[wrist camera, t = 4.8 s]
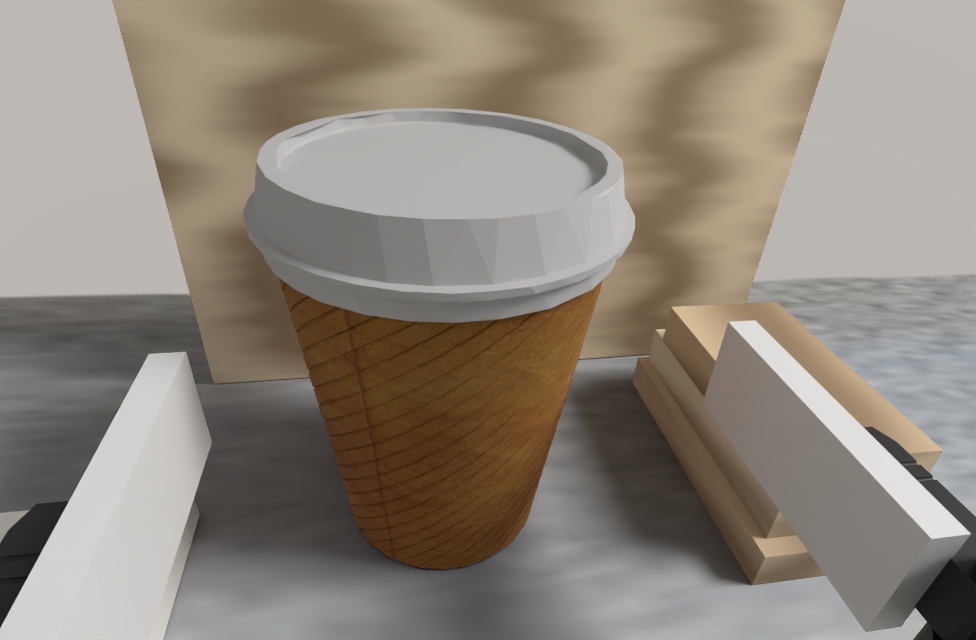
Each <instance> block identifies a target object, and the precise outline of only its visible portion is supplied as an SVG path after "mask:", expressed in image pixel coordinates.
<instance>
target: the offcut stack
mask: <svg viewBox="0 0 976 640" xmlns="http://www.w3.org/2000/svg"><path fill="white" fill-rule="evenodd" d="M752 320H756V321H757V322H758V323H759V324H760V325H761V326H762V327H763V328H764V329H765V330H766V331H767V332H768V333H769V334H770V335H771V336H772V337H773V338H774V339H775V340H776V341H777V342H778V343H779V344H780V345H781V346H782V347H783V348H784V349H785V350H786V351H787V352H788V353H789V354H790V355H791V356H792V357H793V358H794V359H795V360H796V361H797V362H798V363H799V364H800V365H801V366H802V367H803V368H804V369H805V370H806V371H807V372H808V373H809V374H810V375H811V376H812V377H813V378H814V379H815V380H816V381H817V382H818V383H819V384H820V385H821V386H822V387H823V388H824V389H825V390H826V391H827V392H828V393H829V394H830V395H831V396H832V397H833V398H834V399H835V400H836V401H837V402H838V403H839V404H840V405H841V406H842V407H843V408H844V409H845V410H846V411H847V412H848V413H849V414H850V415H852V416H853V417H854V418H855V419H856V420H857V421H858V422H859V423H860V424H861V425H862V426H863V427H871V426H872V427H874V428H875V429H877V430H878V431H880V432H882V433H883V434H885V435H886V436H888V437H890V438H891V439H893V440H895V441H896V442H898V443H899V444H900V445H901V446H902V447H903V448H904V449H905V450H906V451H907V452H908V453H909V454H910V455H911V456H912V457H913V458H914V459H915V460H916V462H917V464H918V465H920V464H921V465H922V466H923V467H924V468H925V469H926V470H927V471H928V472H930V470H931V469H932V467H933V465H934V464H935V462H936V461H937V459H938V458H939V456H940V455H941V453H942V451H943V450H942V449H941V448H940V447H939V446H938V445H937V444H935V443H934V442H933V441H932V440H931V439H930V438H929V437H928V436H926V435H925V434H924V433H923V432H922V431H921V430H920V429H919V428H917V427H916V426H915V425H914V424H913V423H912V422H911V421H910V420H908V419H907V418H906V417H905V416H904V415H903V414H902V413H901V412H899V411H898V410H897V409H896V408H895V407H894V406H893V405H892V404H890V403H889V402H888V401H887V400H886V399H885V398H884V397H883V396H882V395H880V394H879V393H878V392H877V391H876V390H875V389H874V388H873V387H871V386H870V385H869V384H868V383H867V382H866V381H865V380H864V379H862V378H861V377H860V376H859V375H858V374H857V373H856V372H855V371H853V370H852V369H851V368H850V367H849V366H848V365H847V364H846V363H844V362H843V361H842V360H841V359H840V358H839V357H838V356H837V355H835V354H834V353H833V352H832V351H831V350H830V349H829V348H828V347H826V346H825V345H824V344H823V343H822V342H821V341H820V340H819V339H818V338H816V337H815V336H814V335H813V334H812V333H811V332H810V331H809V330H807V329H806V328H805V327H804V326H803V325H802V324H801V323H800V322H798V321H797V320H796V319H795V318H794V317H793V316H792V315H791V314H789V313H788V312H787V311H786V310H785V309H784V308H783V307H782V306H780V305H779V304H778V303H777V302H765V303H743V304H721V305H699V306H678V307H671V309H670V313H669V317H668V321H667V325H666V329H656V331H655V335H654V339H653V343H652V348H651V352H650V356H649V357H645V358H638V360H637V365H636V369H635V373H634V378H633V382H632V383H633V384H634V386H635V388H636V389H637V391H638V393H639V394H640V396H641V398H642V400H643V401H644V403H645V405H646V406H647V408H648V410H649V411H650V413H651V415H652V417H653V418H654V420H655V422H656V423H657V425H658V427H659V428H660V430H661V432H662V434H663V435H664V437H665V439H666V440H667V442H668V444H669V445H670V447H671V449H672V451H673V452H674V454H675V456H676V457H677V459H678V461H679V462H680V464H681V466H682V468H683V469H684V471H685V473H686V474H687V476H688V478H689V479H690V481H691V483H692V485H693V486H694V488H695V490H696V491H697V493H698V495H699V496H700V498H701V500H702V502H703V503H704V505H705V507H706V508H707V510H708V512H709V513H710V515H711V517H712V519H713V520H714V522H715V524H716V525H717V527H718V529H719V530H720V532H721V534H722V536H723V537H724V539H725V541H726V542H727V544H728V546H729V547H730V549H731V551H732V553H733V554H734V556H735V558H736V559H737V561H738V563H739V564H740V566H741V568H742V570H743V571H744V573H745V575H746V576H747V578H748V580H749V581H750V583H751V585H758V584H766V583H773V582H780V581H788V580H795V579H803V578H810V577H817V576H825V574H824V573H823V571H822V570H821V569H820V567H819V566H818V564H817V563H816V562H815V560H814V559H813V557H812V556H811V555H810V553H809V552H808V550H807V549H806V548H805V546H804V545H803V543H802V542H801V541H800V539H799V538H798V536H797V535H796V534H795V532H794V531H793V529H792V528H791V527H790V525H789V524H788V522H787V521H786V520H785V518H784V517H783V515H782V514H781V513H780V511H779V510H778V508H777V507H776V506H775V504H774V503H773V501H772V500H771V499H770V497H769V496H768V494H767V493H766V492H765V490H764V489H763V487H762V486H761V485H760V483H759V482H758V480H757V479H756V478H755V476H754V475H753V473H752V472H751V471H750V469H749V468H748V466H747V465H746V464H745V462H744V461H743V459H742V458H741V457H740V455H739V454H738V452H737V451H736V450H735V448H734V447H733V445H732V444H731V443H730V441H729V440H728V438H727V437H726V436H725V434H724V433H723V431H722V430H721V429H720V427H719V426H718V424H717V423H716V422H715V420H714V419H713V417H712V416H711V415H710V413H709V412H708V410H707V409H706V408H705V406H704V405H703V400H704V397H705V394H706V391H707V388H708V384H709V381H710V378H711V375H712V372H713V369H714V365H715V362H716V359H717V356H718V353H719V350H720V347H721V343H722V340H723V337H724V334H725V331H726V328H727V325H728V322H734V321H752Z"/></svg>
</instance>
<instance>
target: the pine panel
mask: <svg viewBox="0 0 976 640" xmlns="http://www.w3.org/2000/svg"><path fill="white" fill-rule="evenodd" d="M112 1H113V4H114V8H115V12H116V16H117V19H118V23H119V27H120V31H121V35H122V39H123V42H124V46H125V50H126V54H127V57H128V61H129V65H130V69H131V72H132V76H133V80H134V84H135V88H136V92H137V95H138V99H139V103H140V107H141V110H142V114H143V118H144V122H145V126H146V129H147V133H148V136H149V141H150V144H151V148H152V152H153V156H154V160H155V163H156V167H157V171H158V174H159V179H160V182H161V186H162V190H163V194H164V197H165V201H166V205H167V208H168V212H169V216H170V220H171V224H172V228H173V232H174V235H175V239H176V243H177V247H178V251H179V254H180V258H181V262H182V265H183V269H184V273H185V277H186V281H187V284H188V288H189V292H190V296H191V300H192V304H193V307H194V311H195V315H196V319H197V322H198V326H199V330H200V334H201V338H202V341H203V345H204V349H205V353H206V356H207V360H208V364H209V368H210V372H211V375H212V379H213V383H214V384H219V383H233V382H248V381H263V380H278V379H292V378H307V377H310V376H309V371H310V370H308V369H307V366H306V363H305V360H304V357H303V354H304V352H303V351H302V350H301V347H300V344H299V341H298V338H297V334H298V333H297V332H296V331H295V328H294V325H293V322H292V319H291V317H290V315H291V313H290V312H289V309H288V306H287V303H286V300H285V297H284V295H283V294H284V292H283V291H282V289H281V285H280V282H279V278H278V277H277V276H276V275H275V274H274V272H273V271H272V269H271V268H270V267H269V265H268V264H267V262H266V261H265V259H264V256H263V254H262V253H261V251H260V250H259V249H258V248H257V247H256V246H255V245H254V243H253V242H252V241H251V240H250V239H249V236H248V233H247V230H246V227H245V222H244V216H243V210H244V208H245V205H246V203H247V200H248V198H249V197H250V196H251V194H252V193H253V192H254V191H255V176H256V161H257V158H258V154H259V150H260V148H261V147H262V146H263V145H264V144H265V143H266V141H268V140H269V139H271V138H272V137H274V136H275V135H277V134H278V133H281V132H283V131H285V130H287V129H290V128H292V127H294V126H297V125H300V124H304V123H307V122H310V121H314V120H317V119H321V118H327V117H333V116H339V115H344V114H350V113H356V112H362V111H373V110H383V109H404V108H442V109H467V110H477V111H487V112H497V113H506V114H512V115H518V116H523V117H529V118H535V119H540V120H544V121H547V122H551V123H555V124H558V125H562V126H566V127H569V128H572V129H574V130H577V131H579V132H582V133H585V134H587V135H590V136H592V137H594V138H596V139H598V140H600V141H602V142H603V143H605V144H606V145H607V146H609V147H610V148H611V149H613V150H614V152H615V153H616V154H617V155H618V156H619V157H620V159H621V160H622V161H623V171H624V191H625V199H626V200H627V201H628V203H629V205H630V207H631V209H632V211H633V213H634V215H635V230H634V234H633V237H632V240H631V242H630V244H629V245H628V247H627V248H626V250H625V252H624V253H623V255H622V256H621V257H620V258H618V259H617V260H616V262H615V264H614V267H613V269H612V271H611V272H610V273H609V274H608V275H607V276H606V277H605V278H604V279H603V282H602V285H601V290H600V293H599V296H598V299H597V302H596V305H595V308H594V312H593V315H592V318H591V321H590V323H589V326H588V331H587V334H586V336H585V339H584V342H583V345H582V350H581V353H580V356H579V359H587V358H602V357H617V356H632V355H646V354H650V352H651V348H652V343H653V339H654V335H655V331H656V329H666V325H667V321H668V317H669V313H670V309H671V307H678V306H699V305H721V304H743V303H746V301H747V298H748V295H749V292H750V289H751V286H752V283H753V280H754V276H755V273H756V270H757V267H758V264H759V261H760V258H761V255H762V252H763V249H764V246H765V243H766V240H767V237H768V234H769V231H770V228H771V225H772V222H773V219H774V216H775V213H776V210H777V206H778V203H779V200H780V197H781V194H782V191H783V188H784V185H785V182H786V179H787V176H788V173H789V170H790V167H791V164H792V161H793V158H794V155H795V151H796V149H797V146H798V143H799V139H800V136H801V134H802V131H803V127H804V124H805V121H806V118H807V115H808V112H809V109H810V106H811V103H812V100H813V97H814V94H815V91H816V88H817V85H818V82H819V79H820V76H821V73H822V70H823V66H824V64H825V60H826V57H827V55H828V51H829V48H830V45H831V42H832V39H833V36H834V33H835V30H836V27H837V24H838V21H839V18H840V15H841V12H842V9H843V6H844V3H845V0H112Z"/></svg>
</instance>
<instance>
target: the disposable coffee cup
mask: <svg viewBox="0 0 976 640" xmlns="http://www.w3.org/2000/svg"><path fill="white" fill-rule="evenodd" d="M243 216H244V222H245V227H246V230H247V233H248V236H249V239H250V240H251V241H252V242H253V243H254V245H255V246H256V247H257V248H258V249H259V250H260V251H261V253H262V254H263V256H264V259H265V261H266V262H267V264H268V265H269V267H270V268H271V269H272V271H273V272H274V274H275V275H276V276H277V277H278V278H279V282H280V285H281V289H282V291H283V292H284V294H283V295H284V297H285V300H286V303H287V306H288V309H289V312H290V313H291V315H290V317H291V319H292V322H293V325H294V328H295V331H296V332H297V333H298V334H297V338H298V341H299V344H300V347H301V350H302V351H303V352H304V354H303V357H304V360H305V363H306V366H307V369H308V370H310V371H309V376H310V379H311V382H312V385H313V387H315V388H314V391H315V394H316V397H317V401H318V403H319V404H320V405H319V408H320V411H321V414H322V417H323V419H324V420H325V421H324V424H325V427H326V430H327V432H328V435H330V436H329V439H330V442H331V445H332V448H333V449H334V455H335V458H336V461H337V463H338V468H339V471H340V473H341V476H342V477H343V479H342V480H343V483H344V486H345V489H346V493H347V496H348V499H349V502H350V503H351V504H350V505H351V509H352V512H353V516H354V520H355V522H356V524H357V525H358V527H359V529H360V530H361V532H362V534H363V536H364V537H365V538H366V539H367V540H368V541H369V542H370V543H371V545H372V546H373V547H375V548H376V549H378V550H379V551H380V552H382V553H383V554H385V555H386V556H388V557H390V558H393V559H395V560H397V561H400V562H402V563H405V564H407V565H411V566H415V567H420V568H426V569H450V568H458V567H465V566H468V565H471V564H474V563H477V562H480V561H483V560H485V559H487V558H489V557H490V556H492V555H494V554H496V553H497V552H499V551H501V550H502V549H504V548H505V547H506V546H507V545H508V544H510V543H511V542H512V541H513V540H514V539H515V537H516V536H517V535H518V533H519V532H520V530H521V529H522V528H523V526H524V525H525V522H526V520H527V518H528V515H529V513H530V510H531V506H532V503H533V499H534V496H535V493H536V490H537V487H538V483H539V480H540V477H541V475H542V471H543V468H544V465H545V462H546V459H547V455H548V452H549V449H550V446H551V443H552V440H553V437H554V434H555V431H556V428H557V424H558V421H559V418H560V415H561V411H562V408H563V405H564V403H565V399H566V395H567V393H568V390H569V387H570V384H571V380H572V376H573V373H574V370H575V367H576V364H577V361H578V359H579V356H580V353H581V350H582V345H583V342H584V339H585V336H586V334H587V331H588V326H589V323H590V321H591V318H592V315H593V312H594V308H595V305H596V302H597V299H598V296H599V293H600V290H601V285H602V282H603V279H604V278H605V277H606V276H607V275H608V274H609V273H610V272H611V271H612V269H613V267H614V264H615V262H616V260H617V259H618V258H620V257H621V256H622V255H623V253H624V252H625V250H626V248H627V247H628V245H629V244H630V242H631V240H632V237H633V234H634V230H635V215H634V213H633V211H632V209H631V207H630V205H629V203H628V201H627V200H626V199H625V191H624V171H623V161H622V160H621V159H620V157H619V156H618V155H617V154H616V153H615V152H614V150H613V149H611V148H610V147H609V146H607V145H606V144H605V143H603V142H602V141H600V140H598V139H596V138H594V137H592V136H590V135H587V134H585V133H582V132H579V131H577V130H574V129H572V128H569V127H566V126H562V125H558V124H555V123H551V122H547V121H544V120H540V119H535V118H529V117H523V116H518V115H512V114H506V113H497V112H487V111H477V110H467V109H442V108H404V109H383V110H373V111H362V112H356V113H350V114H344V115H339V116H333V117H327V118H321V119H317V120H314V121H310V122H307V123H304V124H300V125H297V126H294V127H292V128H290V129H287V130H285V131H283V132H281V133H278V134H277V135H275V136H274V137H272V138H271V139H269V140H268V141H266V143H265V144H264V145H263V146H262V147H261V148H260V150H259V154H258V158H257V161H256V176H255V191H254V192H253V193H252V194H251V196H250V197H249V198H248V200H247V203H246V205H245V208H244V210H243Z"/></svg>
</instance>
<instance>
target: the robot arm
mask: <svg viewBox="0 0 976 640" xmlns="http://www.w3.org/2000/svg"><path fill="white" fill-rule="evenodd" d="M703 405H704V406H705V408H706V409H707V410H708V412H709V413H710V415H711V416H712V417H713V419H714V420H715V422H716V423H717V424H718V426H719V427H720V429H721V430H722V431H723V433H724V434H725V436H726V437H727V438H728V440H729V441H730V443H731V444H732V445H733V447H734V448H735V450H736V451H737V452H738V454H739V455H740V457H741V458H742V459H743V461H744V462H745V464H746V465H747V466H748V468H749V469H750V471H751V472H752V473H753V475H754V476H755V478H756V479H757V480H758V482H759V483H760V485H761V486H762V487H763V489H764V490H765V492H766V493H767V494H768V496H769V497H770V499H771V500H772V501H773V503H774V504H775V506H776V507H777V508H778V510H779V511H780V513H781V514H782V515H783V517H784V518H785V520H786V521H787V522H788V524H789V525H790V527H791V528H792V529H793V531H794V532H795V534H796V535H797V536H798V538H799V539H800V541H801V542H802V543H803V545H804V546H805V548H806V549H807V550H808V552H809V553H810V555H811V556H812V557H813V559H814V560H815V562H816V563H817V564H818V566H819V567H820V569H821V570H822V571H823V573H824V574H825V576H826V577H827V578H828V580H829V581H830V583H831V584H832V585H833V587H834V588H835V590H836V591H837V592H838V594H839V595H840V597H841V598H842V599H843V601H844V602H845V604H846V605H847V606H848V608H849V609H850V610H851V612H852V613H853V615H854V616H855V617H856V619H857V620H858V622H859V623H860V624H861V626H862V627H863V629H864V630H865V631H866V632H869V631H875V630H882V629H888V628H894V627H901V626H902V624H903V623H904V622H905V620H906V619H907V618H908V616H909V615H910V614H911V613H912V611H913V610H914V609H915V607H916V609H917V610H918V611H919V612H920V614H921V615H922V616H923V617H924V618H925V620H926V621H927V623H926V624H925V626H924V627H923V628H922V629H921V631H920V632H919V633H918V634H917V636H916V637H915V638H914V639H913V640H976V517H975V516H974V515H973V514H972V513H971V512H970V511H969V510H968V509H967V508H966V507H965V506H964V505H963V504H961V503H960V502H959V501H958V500H957V499H956V498H955V497H954V496H953V495H952V494H951V493H950V492H949V491H948V490H947V489H946V488H945V487H944V486H943V485H942V484H941V483H939V482H938V481H937V480H933V478H932V477H933V476H932V475H931V474H930V473H929V472H928V471H927V470H926V469H925V468H924V467H923V466H922V465H921V464H920V465H918V464H917V462H916V460H915V459H914V458H913V457H912V456H911V455H910V454H909V453H908V452H907V451H906V450H905V449H904V448H903V447H902V446H901V445H900V444H899V443H898V442H896V441H895V440H893V439H891V438H890V437H888V436H886V435H885V434H883V433H882V432H880V431H878V430H877V429H875V428H874V427H872V426H871V427H863V426H862V425H861V424H860V423H859V422H858V421H857V420H856V419H855V418H854V417H853V416H852V415H850V414H849V413H848V412H847V411H846V410H845V409H844V408H843V407H842V406H841V405H840V404H839V403H838V402H837V401H836V400H835V399H834V398H833V397H832V396H831V395H830V394H829V393H828V392H827V391H826V390H825V389H824V388H823V387H822V386H821V385H820V384H819V383H818V382H817V381H816V380H815V379H814V378H813V377H812V376H811V375H810V374H809V373H808V372H807V371H806V370H805V369H804V368H803V367H802V366H801V365H800V364H799V363H798V362H797V361H796V360H795V359H794V358H793V357H792V356H791V355H790V354H789V353H788V352H787V351H786V350H785V349H784V348H783V347H782V346H781V345H780V344H779V343H778V342H777V341H776V340H775V339H774V338H773V337H772V336H771V335H770V334H769V333H768V332H767V331H766V330H765V329H764V328H763V327H762V326H761V325H760V324H759V323H758V322H757V321H756V320H752V321H734V322H728V325H727V328H726V331H725V334H724V337H723V340H722V343H721V347H720V350H719V353H718V356H717V359H716V362H715V365H714V369H713V372H712V375H711V378H710V381H709V384H708V388H707V391H706V394H705V397H704V400H703ZM211 444H212V441H211V437H210V434H209V430H208V427H207V423H206V420H205V416H204V412H203V409H202V405H201V402H200V398H199V395H198V391H197V388H196V384H195V381H194V377H193V374H192V370H191V367H190V363H189V360H188V356H187V353H186V352H173V353H154V354H149V355H148V357H147V358H146V360H145V362H144V364H143V366H142V368H141V369H140V371H139V373H138V375H137V377H136V379H135V380H134V382H133V384H132V386H131V388H130V390H129V392H128V393H127V395H126V397H125V399H124V401H123V403H122V404H121V406H120V408H119V410H118V412H117V414H116V416H115V417H114V419H113V421H112V423H111V425H110V427H109V428H108V430H107V432H106V434H105V436H104V438H103V440H102V441H101V443H100V445H99V447H98V449H97V451H96V452H95V454H94V456H93V458H92V460H91V462H90V464H89V465H88V467H87V469H86V471H85V473H84V475H83V476H82V478H81V480H80V482H79V484H78V486H77V487H76V489H75V491H74V493H73V495H72V497H71V499H70V500H69V501H64V502H53V503H42V504H36V505H35V506H34V507H33V508H32V509H31V510H30V511H28V512H27V513H26V514H25V515H24V516H23V517H22V518H21V519H20V520H19V521H17V522H16V523H15V524H14V525H13V526H12V527H11V528H10V529H9V530H8V531H7V533H6V535H5V536H4V538H3V539H2V541H1V543H0V640H149V637H150V634H151V631H152V628H153V625H154V622H155V619H156V615H157V612H158V609H159V606H160V603H161V600H162V597H163V594H164V590H165V587H166V584H167V581H168V578H169V575H170V572H171V569H172V565H173V562H174V559H175V556H176V553H177V550H178V547H179V544H180V541H181V537H182V534H183V531H184V528H185V525H186V522H187V519H188V516H189V512H190V509H191V506H192V503H193V500H194V497H195V494H196V491H197V487H198V484H199V481H200V478H201V475H202V472H203V469H204V466H205V462H206V459H207V456H208V453H209V450H210V447H211Z"/></svg>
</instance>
